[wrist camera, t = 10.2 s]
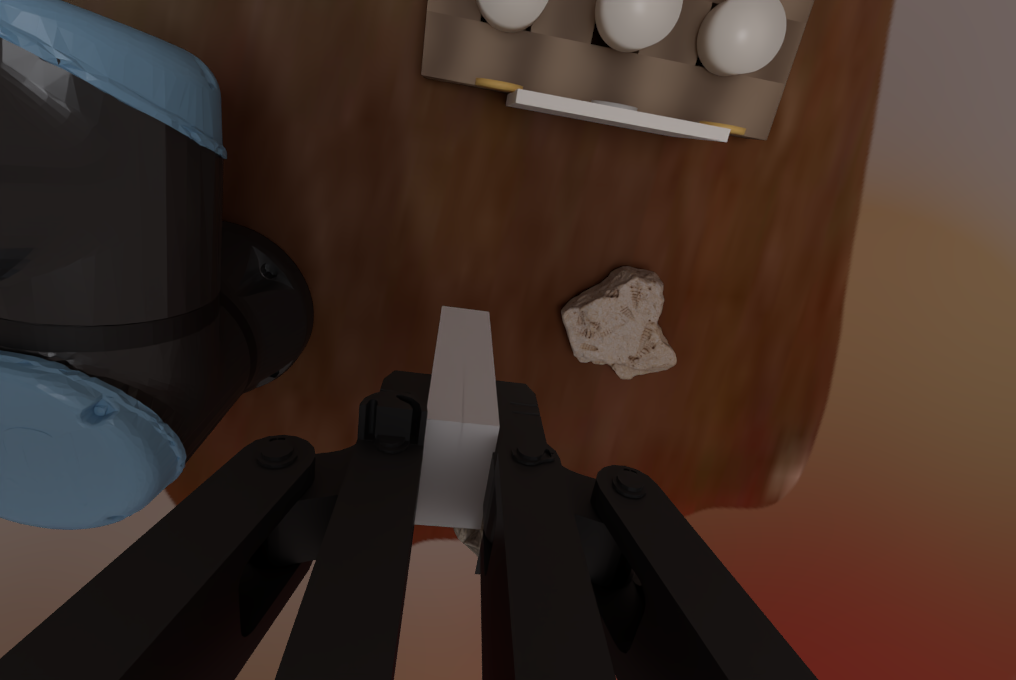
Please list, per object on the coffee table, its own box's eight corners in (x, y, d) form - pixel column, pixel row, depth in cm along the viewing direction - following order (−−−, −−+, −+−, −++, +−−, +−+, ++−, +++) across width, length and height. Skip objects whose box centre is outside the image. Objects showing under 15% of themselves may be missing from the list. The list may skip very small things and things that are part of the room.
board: (424, 77, 39) (421, 74, 37) (442, -118, 35) (439, -138, 32) (747, 138, 43) (766, 140, 40) (803, -32, 38) (828, -43, 35)
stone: (647, 254, 46) (665, 269, 42) (664, 361, 51) (682, 385, 47) (552, 280, 47) (560, 298, 42) (578, 384, 52) (587, 410, 47)
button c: (673, 72, 40) (705, 65, 34) (692, 1, 38) (729, -18, 33) (730, 84, 40) (770, 79, 35) (751, 14, 39) (797, -3, 33)
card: (473, 99, 40) (473, 95, 31) (475, 83, 40) (476, 74, 31) (700, 141, 43) (763, 149, 33) (705, 127, 42) (769, 130, 33)
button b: (579, 49, 37) (597, 38, 32) (594, -29, 35) (616, -54, 30) (641, 62, 38) (670, 53, 32) (659, -14, 36) (693, -37, 31)
